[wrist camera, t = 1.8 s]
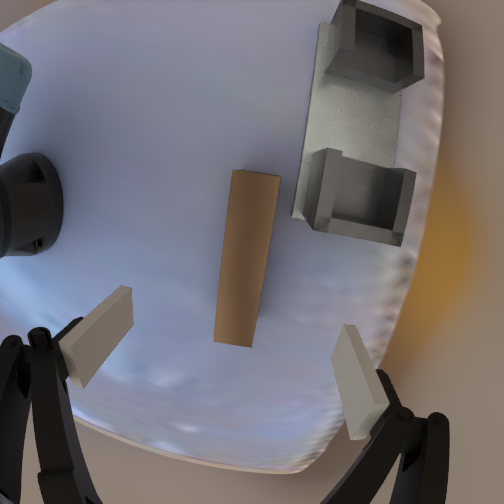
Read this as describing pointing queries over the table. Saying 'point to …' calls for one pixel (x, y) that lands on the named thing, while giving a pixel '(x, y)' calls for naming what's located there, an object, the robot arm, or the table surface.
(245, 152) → the table surface
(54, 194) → the robot arm
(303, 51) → the table surface
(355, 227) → the grey rectangular holder
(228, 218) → the rail
